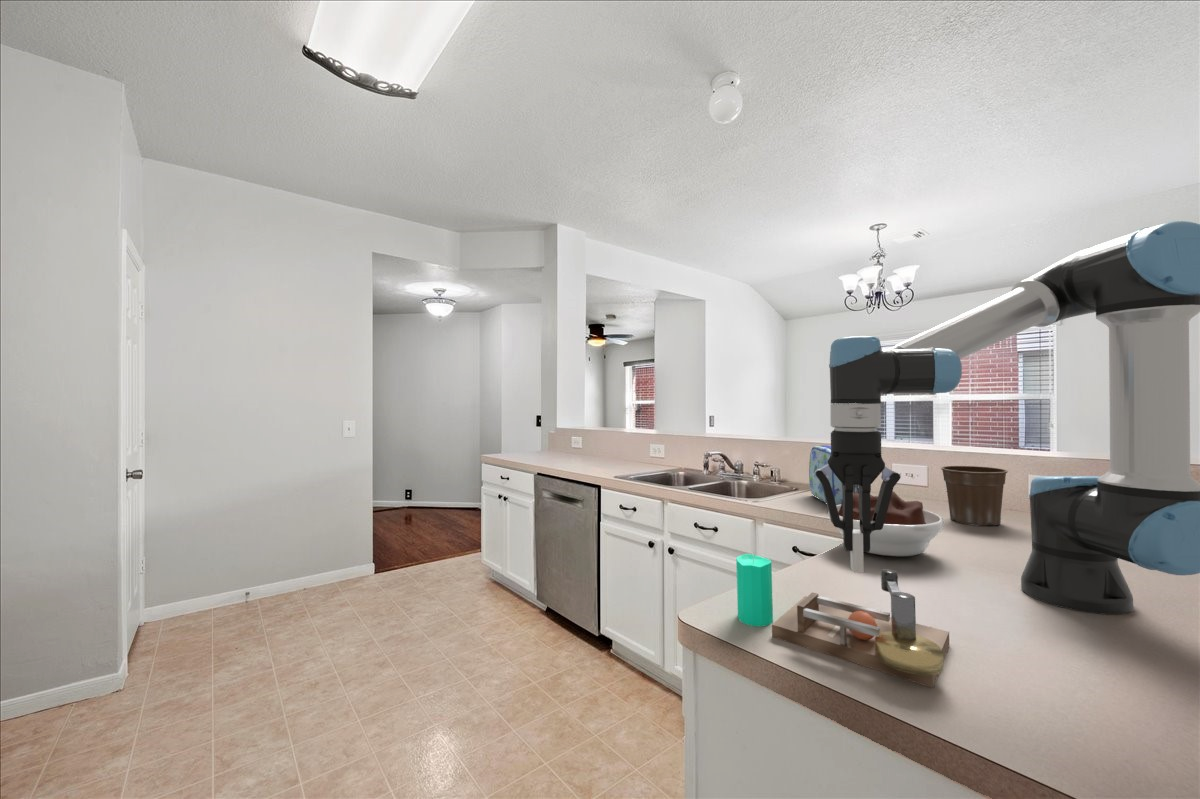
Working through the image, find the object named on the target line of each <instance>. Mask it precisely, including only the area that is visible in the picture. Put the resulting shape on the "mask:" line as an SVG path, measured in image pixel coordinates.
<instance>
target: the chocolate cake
mask: <svg viewBox="0 0 1200 799" xmlns="http://www.w3.org/2000/svg"><path fill="white" fill-rule="evenodd" d="M877 499H878V495H872V494H870V515H871V521H872V518H873V514H874V510H875V506H876V503H877ZM836 506H837V510H838V514H839V517H840V520H843V501H842V504H840V505H836ZM827 516H828V518H829V520H830V521H831V518H830V515H829V511H828V510H827ZM944 524H945V523H944V520H943V518H942V516H940V515H939V514H937V513H935V512H932V511H930V510H925V509H924V506H923V501H922V502H921V501H919V500H911V501H906V500H904V499H902V498H901V497H900V496H899V495H898V494H897V493H896V492H895V491H892V495H891V499H890V503H889V506H888V510H887V514H886V518H885V521H884V525H883V528H882V529H881V530H875V531H872V532H871V534H870V551H869V552H867V553H868V554H874V555H877V556H885V557H886V556H888V557H911V556H917V555H920V554H922V553H924V552H925V551H926V550H927V548H928V546H929V544H930V542H931V541H932V540H933V539H935V537H936V536H938V535H939V533H941V531H942V529H943V528H944ZM835 528H836V529H837V530H838V531H839V532H840V536H841V537H842V538H843V530H842V529H840V528H837V527H835ZM853 529H857V530H860V522H859V494H858V493H854V494H853Z"/></svg>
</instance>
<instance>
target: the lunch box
mask: <svg viewBox="0 0 1200 799" xmlns="http://www.w3.org/2000/svg"><path fill="white" fill-rule="evenodd" d="M810 450H811V451H810V454H809V462H808V463H809V465H808V466H809V469H808V472H809V473H808V474H809V475H808V476H809V482H808V483H809V489H810V492H811V495H812V494H813V495H814V496H816V497H818V498H819V499H821V500H822V501H821V500H820V501H821V502H823V501H824V502H825V503H824V502H823V503H824V504H826V500H825V496H824V492H823V489H822V485H821V482H820V480H819V479H818V478H817V476H816V475H815V473H814V471H815V470H816V469H820V468H822V467H824V466H826V465H827V464H828V460H829V458H830V456H831V445H827V444H826V445H816V446H812V448H811V449H810ZM830 475H831V478H830V479H829V482H830V485H831V488H832V492H833V495H834V499H835V503H836V505H840V504H842V482H841V481H840V480H839V479H838V478H837V476H836V475H835V474H834V473H833V471H832V470H831V471H830ZM854 493H858V494H859V487H858V485H853V494H854ZM813 495H812V496H813ZM814 496H813V497H814ZM816 497H815V498H816ZM818 498H817V499H818ZM819 499H818V500H819Z"/></svg>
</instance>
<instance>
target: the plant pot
mask: <svg viewBox="0 0 1200 799" xmlns="http://www.w3.org/2000/svg"><path fill="white" fill-rule="evenodd" d="M940 470H942V476H943V481H944V482H945V488H946V494H947V502H948V510H949V518H950V520H951V521H954V522H955V521H956V522H957V523H960V524H964V525H965V524H966V525H970V526H986V527H987V526H988V525H990V526H998V525H1001V520H1002V508H1003V507H1002V506H1003V496H1004V495H1003V494H1004V487H1005V484H1006V476H1007V474H1008V472H1009V471H1008V469H1004V468H998V467H991V466H990V467H988V466H979V465H977V466H976V465H975V466H974V465H946V466H945V465H944V466H941V467H940Z"/></svg>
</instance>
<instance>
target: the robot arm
mask: <svg viewBox="0 0 1200 799" xmlns="http://www.w3.org/2000/svg"><path fill="white" fill-rule="evenodd" d="M1093 313H1095V319H1096V320H1097V321H1099V322H1101V323H1102V324H1104V325H1105V326H1107V328H1108V355H1109V356H1108V359H1109V360H1108V367H1109V368H1108V370H1109V371H1108V372H1109V375H1108V376H1109V382H1108V384H1109V390H1108V391H1109V470H1108V471H1107V472H1104V474H1103V475H1100V476H1098V475H1096V476H1094V475H1044V476H1041V475H1040V476H1037V477H1034V478H1033V479H1031V481H1030V489H1029V490H1030V491H1029V494H1028V498H1029V507H1030V508H1029V510H1030V528H1031V529H1030V530H1031V531H1030V532H1031V533H1030V534H1031V552H1030V554H1029V557H1028V559H1027V561H1026V564H1025V567H1024V568H1023V571H1022V573H1021V577H1020V583H1021V584H1020V588H1021V590H1022V592H1024V593H1025V594H1026V595H1028V596H1030V597H1032V598H1034V599H1036V600H1038V601H1041V602H1044V603H1046V604H1050V605H1053V606H1057V607H1061V608H1065V609H1069V610H1072V611H1073V610H1074V611H1078V612H1079V611H1080V612H1085V613H1091V614H1092V613H1093V614H1099V615H1100V614H1101V615H1102V614H1103V615H1124V614H1129V613H1131V612H1133V610H1134V597H1133V594H1132V592H1131V590H1130V587H1129V584H1128V583H1127V581H1126V579H1125V576H1124V574H1123V571H1122V570H1121V568H1120V566H1119V560H1123V561H1126V562H1128V563H1132V564H1134V565H1136V566H1138V567H1140V568H1143V569H1147V570H1151V571H1157V572H1160V573H1165V574H1169V575H1174V576H1192V575H1198V574H1200V481H1198V480H1196V479H1195V478H1194V477H1193V476H1192V475H1191V415H1190V414H1191V411H1190V410H1191V402H1190V400H1191V398H1190V395H1191V394H1190V393H1191V392H1190V390H1191V388H1190V387H1191V386H1190V383H1191V382H1190V321H1191V319H1193V318H1194V317H1196V316H1197V315H1198V314H1200V223H1196V222H1192V221H1183V220H1180V221H1179V220H1177V221H1175V220H1174V221H1170V222H1165V223H1162V224H1158V225H1155V226H1147V227H1144V228H1140V229H1139V230H1138V229H1137V230H1136V231H1134V232H1132V233H1129V234H1127V235H1123V236H1120V237H1117V238H1114V239H1111V240H1108V241H1105V242H1102V243H1100V244H1096V245H1093V246H1091V247H1087V248H1084V249H1081V250H1079V251H1076V252H1074V253H1073V254H1071V255H1069V256H1066V257H1064V258H1062V259H1061V260H1059V261H1057V262H1055V263H1053V264H1051V265H1050V266H1048V267H1046V268H1044V269H1043V270H1040V271H1039V272H1037V273H1034V274H1033V275H1031V276H1029V277H1027V278H1025V279H1022V280H1021V281H1019V282H1017V283H1016V284H1015V285H1014V286H1013V287H1012V288H1011V291H1010V292H1007V293H1006V294H1003V295H1001V296H1000V297H999V296H998V297H997V298H995V299H993V300H991V301H988V302H986V303H984V304H982V305H979V306H978V307H976V308H973V309H971V310H969V311H966V312H964V313H962V314H960V315H958V316H956V317H954V318H952V319H949V320H947V321H945V322H943V323H940V324H938V325H936V326H935V327H932V328H930V329H928V330H925V331H923V332H920V333H919V334H917V335H915V336H912V337H910V338H909V339H906V340H904V341H902V342H900V343H898V344H896V345H894V346H892V347H889V348H882V345H881V340H880V338H879V337H877V336H869V335H859V336H846V337H840V338H837V339H835V340H833V341H832V343H831V346H830V352H829V363H828V366H829V367H828V368H829V381H830V383H829V384H830V387H829V388H830V389H829V390H830V427H831V428H834V429H833V430H832V431H831V432H830V446H831V456H830V458H829V460H828V464H827V465H826V466H824V467H822V468H820V469H816V470H815V471H814V473H815V475H816V476H817V478H818V479H819V480H820V482H821V485H822V489H823V492H824V496H825V500H826V503H827V504H826V503H825V504H826V506H827V512H828V511H829V515H830V518H831V520H830V522H831V523H832V525H833V526H834V527H835V528H836V527H837V528H840V529H842V530H843V537H842V539H843V540H842V542H843V543H842V544H843V547H844V549H845V550H846V551H849V554H850V555H849V556H850V558H849V560H850V562H849V563H850V570H852V572H853V573H854V574H856V573H858V574H864V553H868V552H869V551H870V534H871V532H872V531H875V530H881V529H882V528H883V525H884V521H885V518H886V514H887V510H888V506H889V503H890V499H891V495H892V491H893V490H894V488H895V486H896V485H897V484H898V482H899V481H900V480H901V474H900V473H898V472H896V471H894V470H891V469H890V468H889V467H887V466H886V462H885V461H884V458H883V457H882V433H881V432H880V431H878V429H879V428H881V427H882V417H881V416H882V415H881V414H882V413H881V412H882V410H881V407H882V406H881V403H882V396H883V395H911V394H912V395H913V394H916V395H917V394H922V395H923V394H930V395H935V394H947V393H950V392H952V391H954V390H955V389H956V388H957V387H958V386H959V384H960V381H961V379H962V375H963V372H962V370H963V369H962V367H963V364H962V361H961V360H962V359H964V358H966V357H969V356H971V355H973V354H975V353H977V352H979V351H981V350H983V349H986V348H988V347H990V346H993V345H995V344H997V343H1000V342H1001V341H1004V340H1006V339H1008V338H1010V337H1012V336H1015V335H1017V334H1019V333H1021V332H1023V331H1025V330H1028V329H1030V328H1032V327H1037V328H1045V327H1048V326H1050V325H1052V324H1055V323H1058V322H1060V321H1062V320H1066V319H1069V318H1074V317H1078V316H1083V315H1088V314H1093ZM831 470H832V471H833V473H834V474H835V475H836V476H837V478H838V479H839V480H840V481H841V482H842V501H843V520H840V517H839V514H838V510H837V506H836V503H835V499H834V495H833V492H832V488H831V485H830V482H829V479H830V478H831V475H830V471H831ZM880 474H881V475H880ZM879 476H880V479H881V480H882V482H881V484H880V488H879V492H878V495H877V496H878V499H877V503H876V506H875V510H874V514H873V518H872V521H871V515H870V495H871V492H872V484H873V483H874V482H875V481H876V479H877V478H878V477H879ZM853 485H858V488H859V522H860V530H857V529H853ZM893 492H894V491H893ZM830 518H829V519H830ZM837 528H836V529H837ZM1118 559H1119V560H1118Z"/></svg>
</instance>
